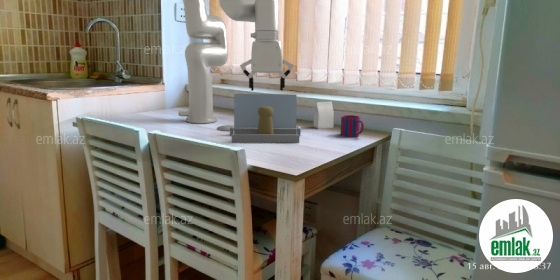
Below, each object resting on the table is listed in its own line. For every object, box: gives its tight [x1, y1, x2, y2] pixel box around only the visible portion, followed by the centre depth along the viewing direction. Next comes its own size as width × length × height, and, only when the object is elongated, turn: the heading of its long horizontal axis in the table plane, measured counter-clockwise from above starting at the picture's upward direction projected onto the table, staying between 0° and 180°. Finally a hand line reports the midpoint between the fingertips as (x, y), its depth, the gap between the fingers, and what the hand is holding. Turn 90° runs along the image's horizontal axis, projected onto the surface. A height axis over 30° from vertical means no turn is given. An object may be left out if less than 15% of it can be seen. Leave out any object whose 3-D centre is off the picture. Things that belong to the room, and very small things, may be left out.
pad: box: [216, 124, 234, 132], centre depth 157 cm, size 10×10×1 cm
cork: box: [257, 106, 274, 134], centre depth 140 cm, size 6×6×11 cm
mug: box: [339, 114, 365, 138], centre depth 147 cm, size 7×10×7 cm
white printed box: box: [313, 101, 335, 130], centre depth 161 cm, size 4×7×10 cm, turn 114°
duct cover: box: [233, 93, 297, 128], centre depth 147 cm, size 12×22×1 cm
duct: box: [229, 126, 302, 144], centre depth 141 cm, size 12×25×3 cm, turn 93°
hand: (266, 90), depth 137 cm, fingers open, 9 cm apart
